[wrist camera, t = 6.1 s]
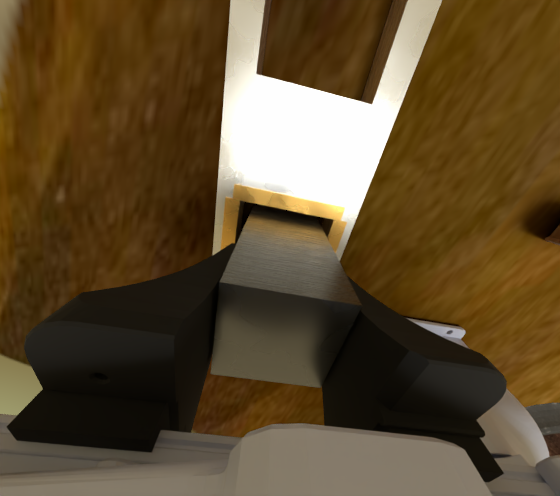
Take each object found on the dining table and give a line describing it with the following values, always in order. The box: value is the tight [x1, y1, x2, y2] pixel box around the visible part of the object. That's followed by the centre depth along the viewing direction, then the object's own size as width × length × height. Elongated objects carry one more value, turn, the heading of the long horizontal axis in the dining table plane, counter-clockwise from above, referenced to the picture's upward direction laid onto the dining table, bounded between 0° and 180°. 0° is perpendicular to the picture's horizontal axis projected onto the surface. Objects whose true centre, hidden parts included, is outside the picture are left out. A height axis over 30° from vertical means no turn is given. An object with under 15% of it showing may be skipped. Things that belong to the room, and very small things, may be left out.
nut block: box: [211, 205, 362, 388], centre depth 10 cm, size 4×4×8 cm
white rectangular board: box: [213, 0, 442, 261], centre depth 11 cm, size 8×22×2 cm, turn 168°
